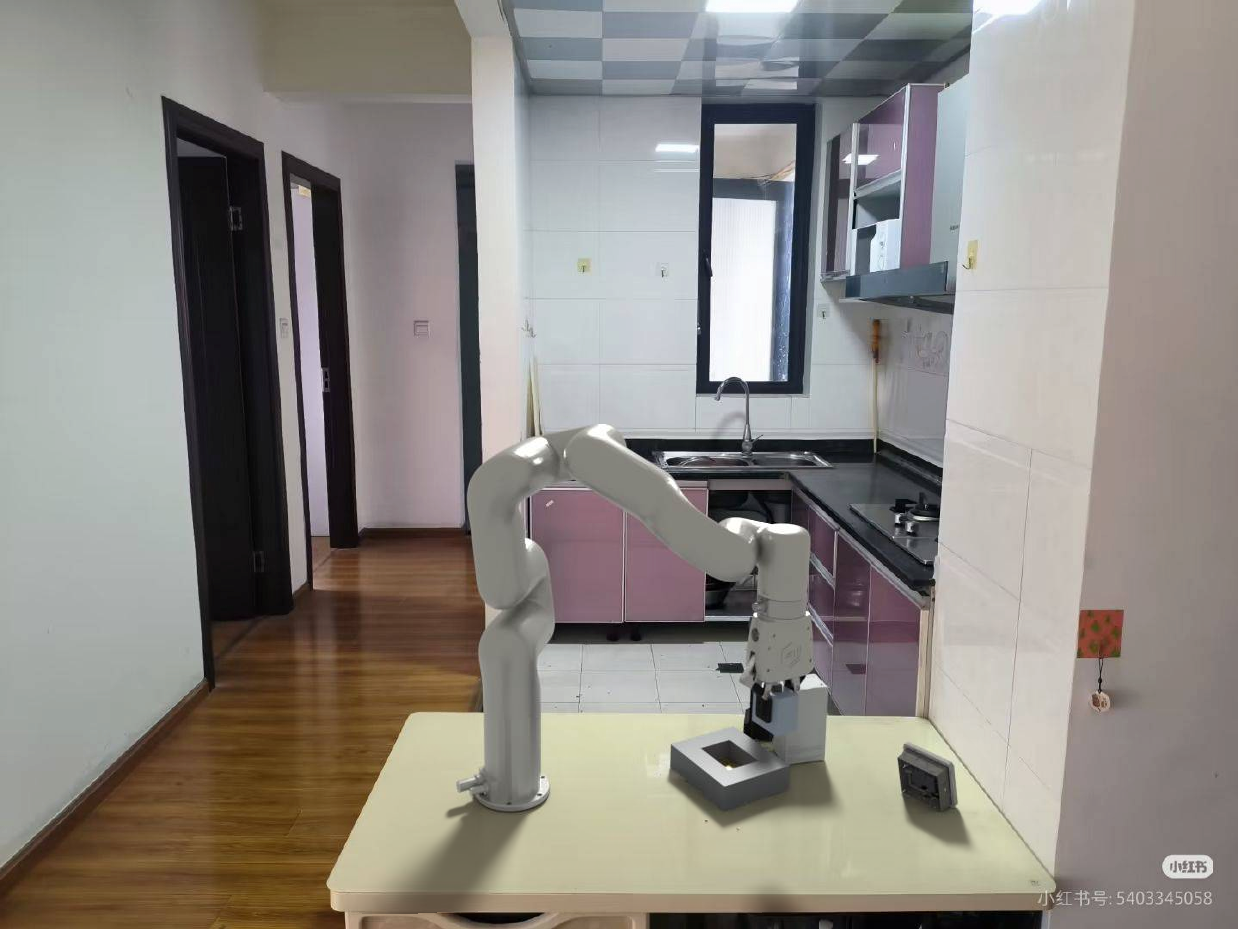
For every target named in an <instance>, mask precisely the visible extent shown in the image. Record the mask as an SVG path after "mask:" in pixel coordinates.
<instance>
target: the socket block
mask: <svg viewBox="0 0 1238 929" xmlns="http://www.w3.org/2000/svg"><path fill="white" fill-rule="evenodd" d="M669 754H670V757H669V760H670V764H669V767H670V768H671V769H672V770H673V771H674V772H675V773H677V774H678V775H679V774H680V775H679V776H680V777H682V778H683V779H684V780H685V781H686V782H687V783H689V784H690V785H691V786H692V787H693V788H694V789H696V790H697V791H698V792H699V791H700V792H699V793H701V795H702V796H704V797H706V798H707V799H708V800H709V801H710V802H712V803H713V804H714V805H715V806H716V807H717V808H719V809H720V810H721V812H726V811H729V810H732V809H734V808H737V807H741V806H743V805H742V804H744V805H746V804H745V803H747V804H750V803H752V802H755V801H758V800H761V799H764V797H765V798H767V797H770V796H774V795H776V794H778V793H783V792H785V791H789V789H790V779H791V778H790V777H791V776H790V775H791V764H788V763H786V762H785V761H783V760H782V759H780V758H779V756H778V755H777V754H775V753H773V752H772V751H770V750H769V749H767V748H766V747H764V746H763V745H762V744H760V743H759V742H757V740H753V739H751V738H750V737H748V736H747V735H746V734H744V733H743V731H741V730H740V729H738V728H737V727H735V726H730V727H729V726H728V727H726V728H722V729H719V730H715V731H712V732H709V733H705V734H700V735H698V736H693V737H690V738H687V739H684V740H680V741H676V742H674V743H670V753H669ZM773 794H774V795H773ZM740 805H741V806H740Z"/></svg>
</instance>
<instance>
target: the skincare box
mask: <svg viewBox="0 0 1238 929" xmlns="http://www.w3.org/2000/svg"><path fill="white" fill-rule="evenodd" d="M778 683H781V684H782V685H783V686H784V684H783V681H781V682H778ZM796 693H797V694H799V702H798V718H797V731H794V732H790V733H787V734H783V735H780V736H775V735H774V739H772V741H773V743H772V744H773V746H772V747H773V748H772V749H773V751H774V752H775V753H776V754H775V755H776V756H778V757H779V758H780V759H782V760H783V761H785V762H786V763H788V764H789V765H793V764H794V765H795V764H801V763H808V762H816V761H823V760H825V759H826V757H825V756H826V739H827V738H826V737H827V717H828V700H829V698H828V697H829V686H828V685H827V684H825V683H824V681H823V680H821V678H820V677H819V676H818V675H817V674H816V673H808V674H807V675H806V677H805V679H804V680H803V682H802V683H801V684H800V690H799V691H798V692H796Z"/></svg>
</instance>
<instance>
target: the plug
mask: <svg viewBox="0 0 1238 929" xmlns="http://www.w3.org/2000/svg"><path fill="white" fill-rule="evenodd" d="M763 686H764V683H762V688H763ZM769 698H771V699H772V715H771V722H770V723H765V722H764V721H762V720H761V719H759V718H758V717H757V716H756V715H755V707H756V694H755V693H754V694H753V714H752V720H753V721H754V722H756V723H757V724H759V725H760V726H762V727H763V728H765V729H766V730H768V731H769V732H771V733H772V734H774V735H775V736H780V735H783V734H787V733H790V732H794V731H797V718H798V702H799V694H797V693H795V692H794V691H792V690H790V689H789V688H787V687H785V686H783V685H782V684H781V683H778V682H777V683H772V688H771V692H770V697H769Z"/></svg>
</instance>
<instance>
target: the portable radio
mask: <svg viewBox="0 0 1238 929" xmlns="http://www.w3.org/2000/svg"><path fill="white" fill-rule="evenodd" d="M752 618H753V616H750V617H749V621H748V626H747V636H746V637H747V640H746V641H747V642H748V637H749V631H750V626H751V622H752ZM755 676H756V674H755V675H754V677H753V681H755ZM762 683H763V682H762ZM749 689H750V688H749ZM749 694H750V695H749V707H747V708H745V711H744V719H743V730H742V732H743V733H744V734H746V735H747V736H748V737H750V738H751V739H753V740H754V741H761V742H762V741H763V742H772V741H773V740H774V734H772V733H771V732H769V731H768V730H766V729H765V728H763V727H762V726H760V725H759V724H757V723H756V722H754V721H753V720H752V714H753V694H754V693H753V691H752V690H751V689H750V693H749Z"/></svg>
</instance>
